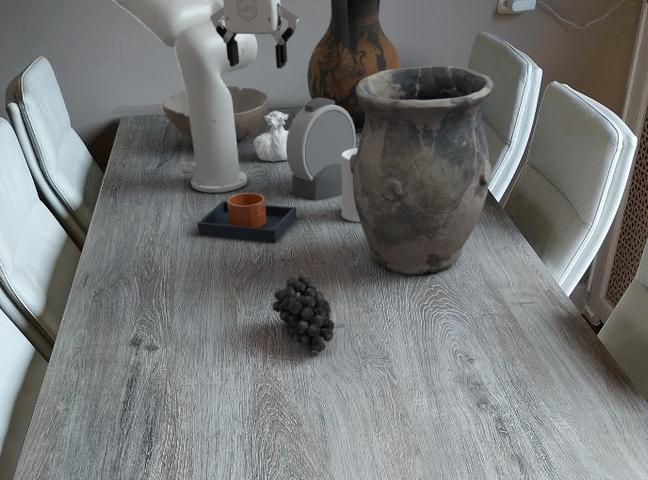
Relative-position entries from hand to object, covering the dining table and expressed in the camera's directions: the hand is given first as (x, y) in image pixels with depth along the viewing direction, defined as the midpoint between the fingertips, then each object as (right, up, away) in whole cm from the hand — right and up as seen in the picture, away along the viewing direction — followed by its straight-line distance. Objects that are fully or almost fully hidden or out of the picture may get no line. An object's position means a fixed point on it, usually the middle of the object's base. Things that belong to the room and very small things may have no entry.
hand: (257, 65), depth 153 cm
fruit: (+10, -58, -29) cm, 66 cm away
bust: (+2, -2, +39) cm, 39 cm away
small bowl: (-2, -29, +6) cm, 29 cm away
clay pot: (+30, -40, -8) cm, 50 cm away
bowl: (-14, +8, +52) cm, 54 cm away
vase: (+21, +15, +59) cm, 65 cm away
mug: (+22, -25, +10) cm, 35 cm away
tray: (-2, -29, +6) cm, 30 cm away
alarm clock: (+12, -16, +22) cm, 30 cm away
